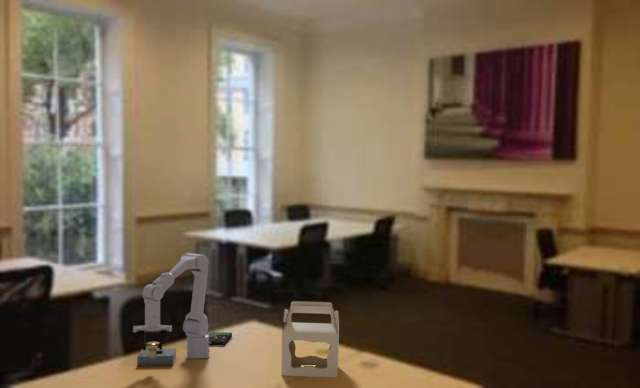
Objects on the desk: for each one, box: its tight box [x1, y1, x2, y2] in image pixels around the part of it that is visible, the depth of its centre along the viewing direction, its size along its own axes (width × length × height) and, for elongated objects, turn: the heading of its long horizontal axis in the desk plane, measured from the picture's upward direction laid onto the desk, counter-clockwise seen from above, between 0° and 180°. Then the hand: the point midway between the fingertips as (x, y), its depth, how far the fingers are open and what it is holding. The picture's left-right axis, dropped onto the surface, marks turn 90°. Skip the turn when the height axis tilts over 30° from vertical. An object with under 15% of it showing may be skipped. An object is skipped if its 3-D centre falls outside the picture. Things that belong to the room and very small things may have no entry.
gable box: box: [281, 300, 340, 379], centre depth 236 cm, size 22×13×28 cm, turn 86°
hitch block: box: [136, 348, 177, 367], centre depth 244 cm, size 14×10×4 cm
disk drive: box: [208, 331, 233, 347], centre depth 276 cm, size 10×3×15 cm
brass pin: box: [145, 341, 160, 358], centre depth 232 cm, size 6×6×5 cm
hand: (152, 349), depth 232 cm, fingers closed on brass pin, 6 cm apart
